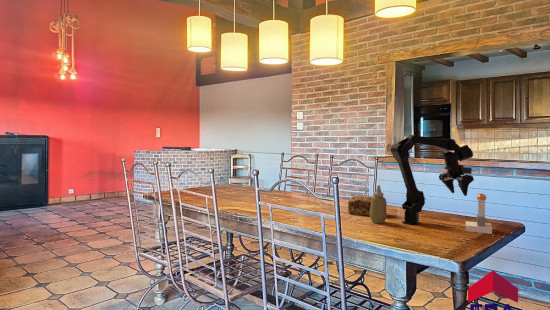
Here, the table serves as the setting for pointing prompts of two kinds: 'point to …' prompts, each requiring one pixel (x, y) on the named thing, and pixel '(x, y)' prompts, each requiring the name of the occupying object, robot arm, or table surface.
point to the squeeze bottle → (378, 207)
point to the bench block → (479, 226)
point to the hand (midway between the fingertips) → (459, 194)
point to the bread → (360, 205)
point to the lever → (481, 205)
